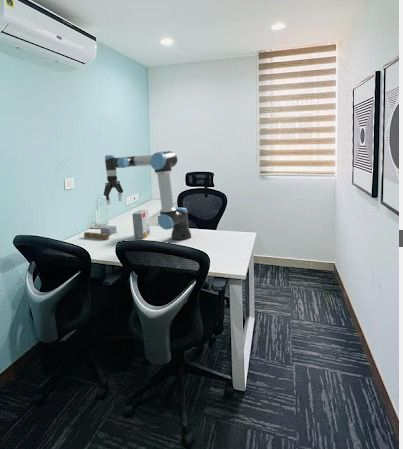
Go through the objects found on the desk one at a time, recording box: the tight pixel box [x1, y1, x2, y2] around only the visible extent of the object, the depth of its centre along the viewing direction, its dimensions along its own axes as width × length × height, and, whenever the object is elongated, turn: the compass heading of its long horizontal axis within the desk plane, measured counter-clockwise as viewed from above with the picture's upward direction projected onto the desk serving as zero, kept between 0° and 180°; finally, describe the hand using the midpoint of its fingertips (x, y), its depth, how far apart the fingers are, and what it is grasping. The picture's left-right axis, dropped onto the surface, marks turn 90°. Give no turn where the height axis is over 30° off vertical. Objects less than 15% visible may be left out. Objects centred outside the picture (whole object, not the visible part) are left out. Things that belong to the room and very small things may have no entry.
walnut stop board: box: [83, 231, 110, 241], centre depth 265 cm, size 24×2×4 cm, turn 63°
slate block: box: [99, 225, 118, 236], centre depth 277 cm, size 10×8×6 cm
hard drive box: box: [132, 209, 151, 240], centre depth 261 cm, size 16×8×20 cm, turn 168°
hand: (114, 202), depth 262 cm, fingers open, 13 cm apart
